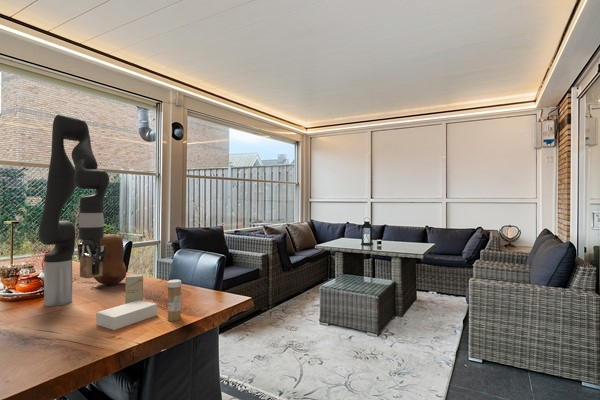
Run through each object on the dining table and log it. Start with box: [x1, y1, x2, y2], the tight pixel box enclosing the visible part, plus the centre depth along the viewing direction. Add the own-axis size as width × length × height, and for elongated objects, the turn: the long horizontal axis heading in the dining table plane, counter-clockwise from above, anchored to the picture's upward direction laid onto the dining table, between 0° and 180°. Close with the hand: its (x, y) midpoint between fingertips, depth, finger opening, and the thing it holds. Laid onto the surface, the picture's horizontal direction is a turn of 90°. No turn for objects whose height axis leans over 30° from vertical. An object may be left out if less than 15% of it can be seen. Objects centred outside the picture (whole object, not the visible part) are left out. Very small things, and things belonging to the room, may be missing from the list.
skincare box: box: [124, 273, 144, 304], centre depth 130 cm, size 6×4×12 cm
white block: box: [95, 300, 158, 331], centre depth 116 cm, size 10×16×4 cm, turn 151°
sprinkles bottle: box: [166, 279, 182, 322], centre depth 116 cm, size 5×5×14 cm
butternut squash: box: [93, 233, 127, 286], centre depth 164 cm, size 14×13×25 cm
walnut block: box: [79, 256, 103, 279], centre depth 117 cm, size 5×5×7 cm
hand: (91, 273), depth 117 cm, fingers closed on walnut block, 5 cm apart
